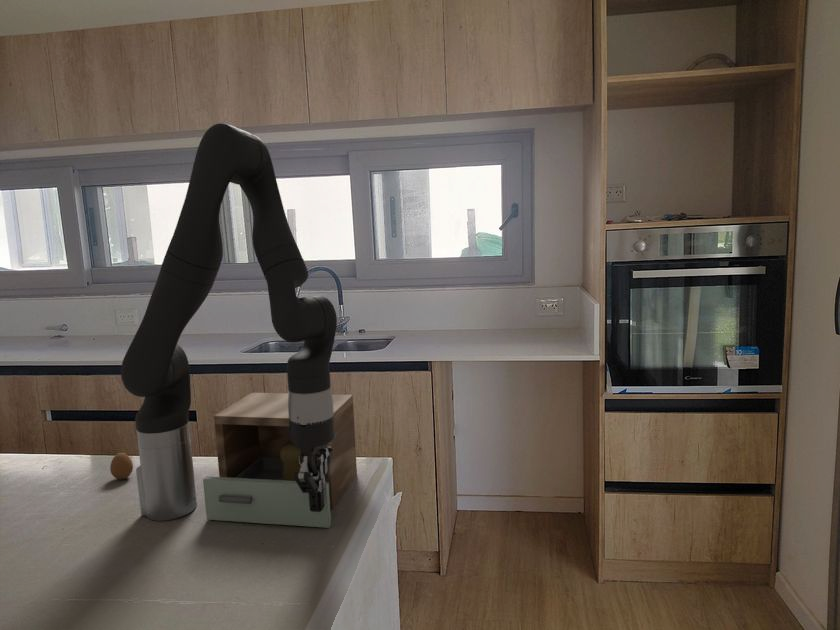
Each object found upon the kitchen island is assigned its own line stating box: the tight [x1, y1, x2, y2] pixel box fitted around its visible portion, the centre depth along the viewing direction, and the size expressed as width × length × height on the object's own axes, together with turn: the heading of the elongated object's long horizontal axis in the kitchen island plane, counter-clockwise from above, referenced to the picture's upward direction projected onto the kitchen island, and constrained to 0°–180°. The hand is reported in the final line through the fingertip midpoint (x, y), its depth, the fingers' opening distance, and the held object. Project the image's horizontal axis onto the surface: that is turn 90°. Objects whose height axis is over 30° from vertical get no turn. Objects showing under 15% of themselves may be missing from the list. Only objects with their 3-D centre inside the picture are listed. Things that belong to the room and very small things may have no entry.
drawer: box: [202, 455, 332, 529], centre depth 116 cm, size 24×22×8 cm
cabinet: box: [213, 392, 358, 511], centre depth 121 cm, size 23×16×18 cm
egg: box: [109, 452, 134, 480], centre depth 129 cm, size 4×4×6 cm
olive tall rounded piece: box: [280, 443, 301, 481], centre depth 114 cm, size 6×6×11 cm
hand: (317, 509), depth 102 cm, fingers closed
